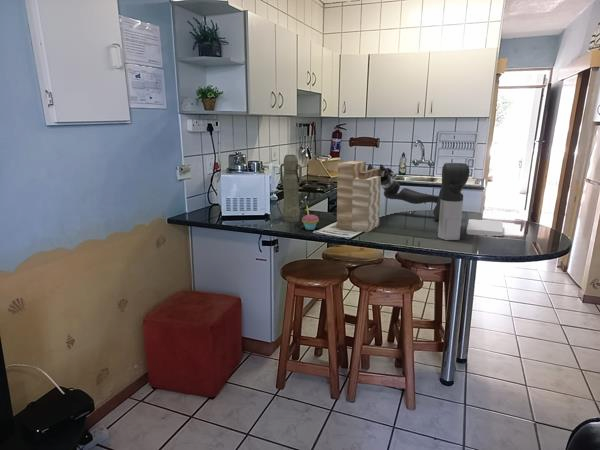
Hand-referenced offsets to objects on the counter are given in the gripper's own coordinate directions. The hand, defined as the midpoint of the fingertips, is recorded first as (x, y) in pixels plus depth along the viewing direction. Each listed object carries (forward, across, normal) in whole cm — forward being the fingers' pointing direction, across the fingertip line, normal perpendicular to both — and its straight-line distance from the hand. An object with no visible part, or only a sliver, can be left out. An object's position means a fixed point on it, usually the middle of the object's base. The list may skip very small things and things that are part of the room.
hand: (374, 165), depth 201 cm
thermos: (-3, -41, +33) cm, 53 cm away
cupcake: (+7, -23, +38) cm, 45 cm away
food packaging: (-25, +52, +21) cm, 61 cm away
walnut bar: (+2, 0, +7) cm, 7 cm away
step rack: (-5, -4, +31) cm, 32 cm away
